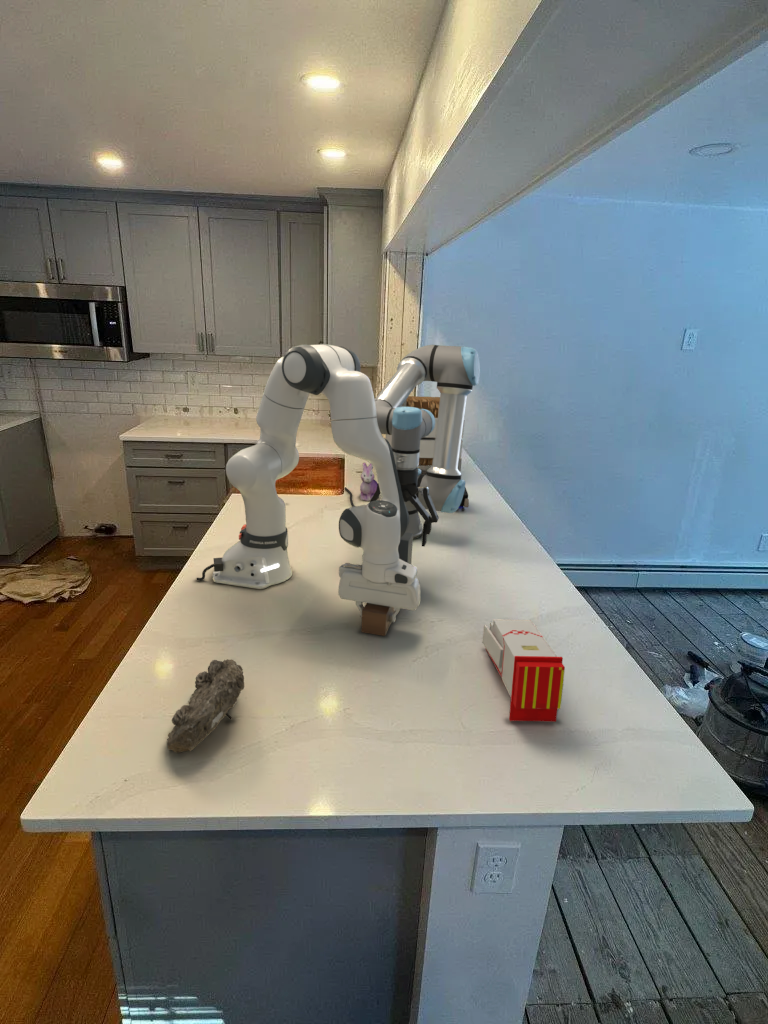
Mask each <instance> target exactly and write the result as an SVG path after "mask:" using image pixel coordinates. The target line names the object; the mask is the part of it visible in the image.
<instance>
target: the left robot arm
mask: <svg viewBox="0 0 768 1024" xmlns="http://www.w3.org/2000/svg"><path fill="white" fill-rule="evenodd" d="M361 368H362V367H361V362H360V359H359V357H358V356H357V354H356V352H354V351H353V350H352V349H350V348H348V347H345V346H340V345H339V346H338V345H333V344H327V343H320V344H305V343H304V344H299V345H294V346H292V347H291V348H289V349H288V350H287V351H286V352H285V353H284V355H283V356H282V357H280V358H279V359H277V361H276V362H275V364H274V366H273V368H272V370H271V371H270V374H269V376H268V379H267V381H266V384H265V387H264V390H263V392H262V396H261V400H260V403H259V406H258V410H257V414H256V417H255V420H256V424H257V426H258V427H259V429H260V431H259V433H260V435H259V439H258V440H257V442H256V444H254V445H251V446H249V447H246V448H245V447H244V448H243V449H241V450H239V451H238V452H236V453H235V454H234V455H232V456H231V457H230V458H229V459H228V461H227V463H226V465H225V475H226V477H227V480H228V482H229V484H231V486H232V487H234V488H235V489H237V491H238V492H239V493H240V495H241V498H242V500H243V505H244V515H245V524H243V525H242V527H241V528H240V531H239V534H238V540H239V541H237V542H236V543H234V544H233V545H231V546H230V547H229V548H227V550H226V551H224V553H223V554H222V557H213V563H212V564H210V565H208V566H207V567H205V568H204V569H203V570H202V573H201V577H196V581H198V582H202V581H204V580H205V578H206V573H207V572H208V571H209V570H210V569H212V568H213V572H212V581H213V582H214V583H216V584H223V585H230V586H235V587H236V586H237V587H242V588H243V587H244V588H250V589H257V590H264V589H266V588H268V587H270V586H274V585H277V584H281V583H284V582H286V581H288V580H289V579H290V578H292V576H293V570H292V566H291V563H290V558H289V553H288V546H289V533H288V528H287V513H286V512H287V511H286V510H287V509H286V508H287V507H286V502H285V501H284V500H283V499H282V497H280V496H279V495H278V493H277V488H276V482H277V481H278V480H280V479H282V478H284V477H287V476H288V475H289V474H290V473H292V472H293V470H294V469H295V468H297V466H298V464H299V461H300V452H299V449H298V447H297V435H298V434H297V433H298V430H299V427H300V423H301V421H302V417H303V415H304V411H305V408H306V405H307V402H308V398H309V395H310V394H312V395H314V396H318V395H320V394H322V395H324V396H325V397H326V398H327V401H328V403H329V413H330V427H331V434H332V435H331V436H332V439H333V442H334V444H335V445H336V446H337V448H339V450H341V451H342V452H343V453H345V454H346V455H349V456H351V457H354V458H358V459H361V460H364V461H366V462H368V463H369V464H370V463H371V464H372V465H373V469H374V470H375V474H376V479H377V483H379V488H380V492H381V493H380V496H381V497H380V499H377V500H375V501H372V502H370V501H369V502H370V503H369V502H368V503H367V504H361V505H354V506H355V507H353V506H351V507H348V508H345V509H344V510H343V511H342V513H341V514H340V517H339V520H338V532H339V536H340V538H341V539H342V540H343V541H344V542H346V543H347V544H349V546H352V547H355V548H360V549H362V554H361V555H362V557H361V564H357V563H350V562H344V563H343V564H341V565H340V566H339V567H338V576H339V578H340V579H339V584H338V589H337V590H338V591H337V595H338V596H339V598H340V599H342V600H346V601H352V602H355V605H356V608H357V609H358V611H359V617H361V618H362V610H363V608H364V607H365V605H364V603H365V604H366V603H371V604H377V605H383V606H389V607H394V611H395V612H394V613H392V612H391V613H390V615H389V621H390V622H392V623H395V622H396V619H397V615H398V614H399V612H400V611H401V609H402V610H408V611H416V610H417V609H418V608H419V606H420V604H421V584H420V581H419V578H418V577H417V576H418V567H417V566H416V565H413V564H412V563H411V564H412V565H411V564H409V563H407V562H405V561H403V560H401V559H399V553H398V546H399V543H400V538H401V537H402V536H403V535H404V534H405V532H406V530H407V528H408V526H409V521H410V519H409V514H408V511H407V508H406V505H405V503H404V500H403V496H402V491H401V486H400V482H399V477H398V472H397V468H396V463H395V459H394V455H393V451H392V448H391V445H390V443H389V441H388V440H387V439H385V438H386V437H384V436H383V434H381V432H380V430H379V427H378V423H377V414H376V405H375V394H374V390H373V386H372V381H371V379H370V378H369V377H368V375H367V374H365V373H363V372H361ZM370 417H373V418H370Z"/></svg>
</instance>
